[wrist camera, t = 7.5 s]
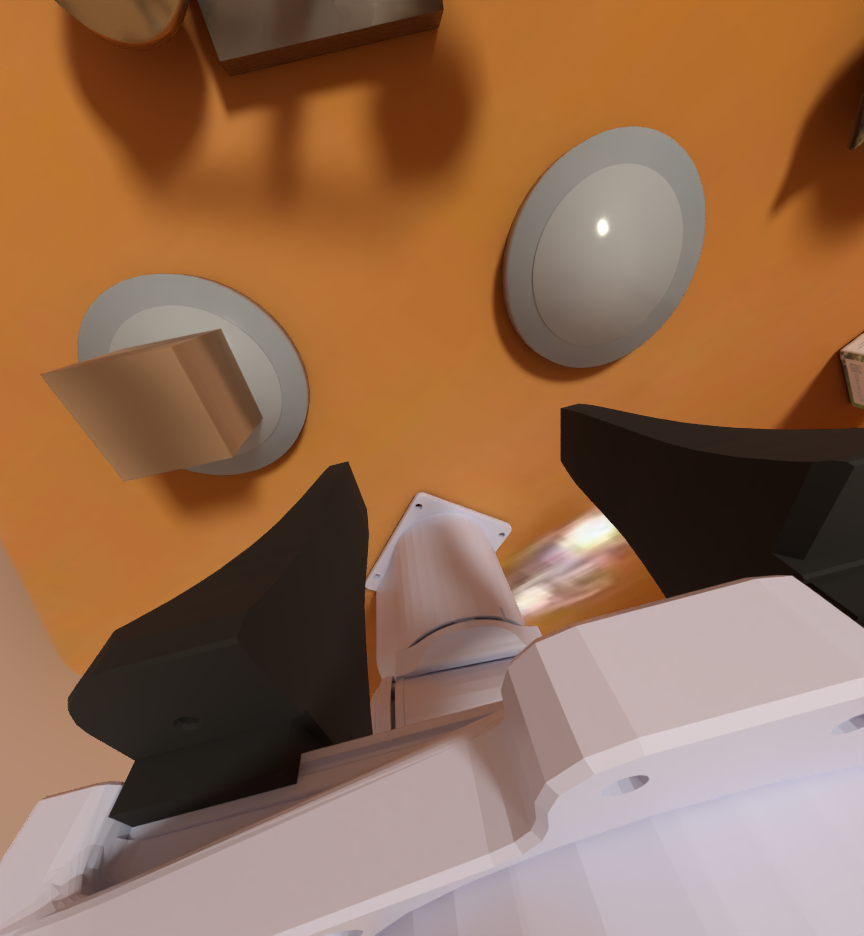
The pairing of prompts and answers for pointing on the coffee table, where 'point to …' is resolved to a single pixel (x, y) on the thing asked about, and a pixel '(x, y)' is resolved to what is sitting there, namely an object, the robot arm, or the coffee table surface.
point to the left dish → (247, 332)
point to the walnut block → (161, 403)
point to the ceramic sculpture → (857, 127)
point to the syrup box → (854, 370)
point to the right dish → (604, 247)
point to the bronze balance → (258, 25)
